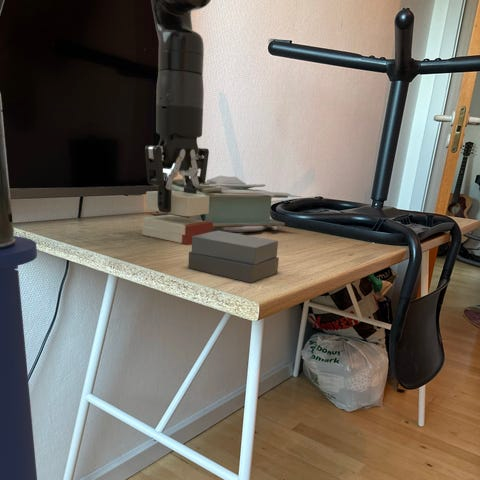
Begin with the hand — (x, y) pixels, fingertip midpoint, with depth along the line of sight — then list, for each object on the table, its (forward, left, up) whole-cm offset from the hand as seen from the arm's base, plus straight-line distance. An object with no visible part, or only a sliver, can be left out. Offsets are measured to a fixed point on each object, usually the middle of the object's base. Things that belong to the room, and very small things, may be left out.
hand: (177, 210), depth 84 cm
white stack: (0, 0, -5) cm, 5 cm away
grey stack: (-12, -20, -5) cm, 24 cm away
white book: (0, 0, 0) cm, 0 cm away
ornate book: (+20, +5, -5) cm, 21 cm away
